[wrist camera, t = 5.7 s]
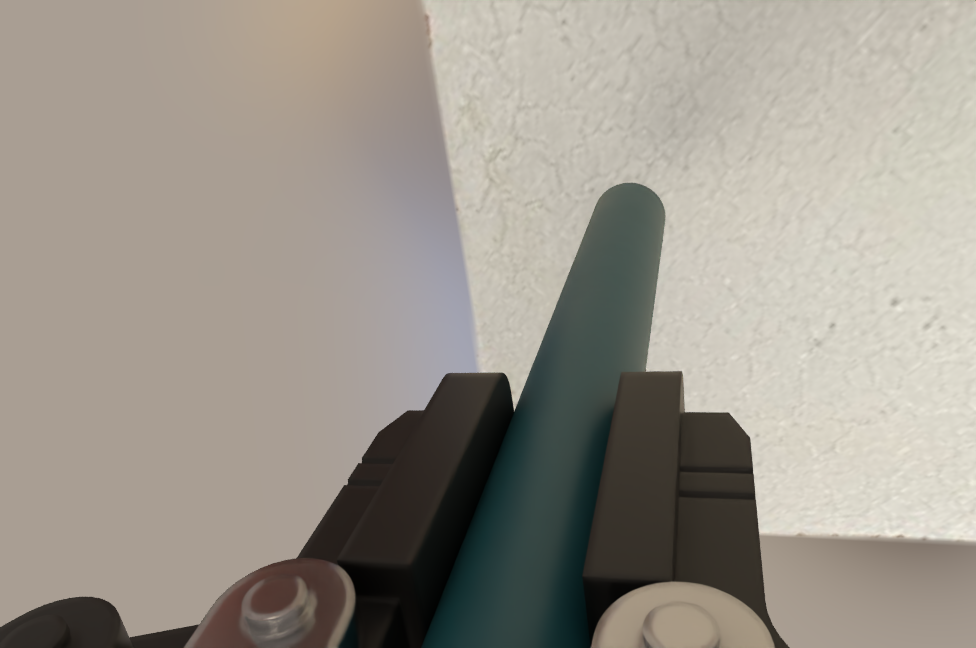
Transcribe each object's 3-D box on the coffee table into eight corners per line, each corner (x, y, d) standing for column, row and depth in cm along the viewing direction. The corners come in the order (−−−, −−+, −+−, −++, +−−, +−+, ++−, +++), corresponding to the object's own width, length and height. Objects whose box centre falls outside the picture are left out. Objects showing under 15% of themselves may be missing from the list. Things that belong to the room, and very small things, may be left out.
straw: (597, 251, 18) (392, 866, 6) (591, 184, 18) (350, 726, 6) (667, 247, 18) (593, 903, 6) (663, 179, 17) (572, 755, 5)
